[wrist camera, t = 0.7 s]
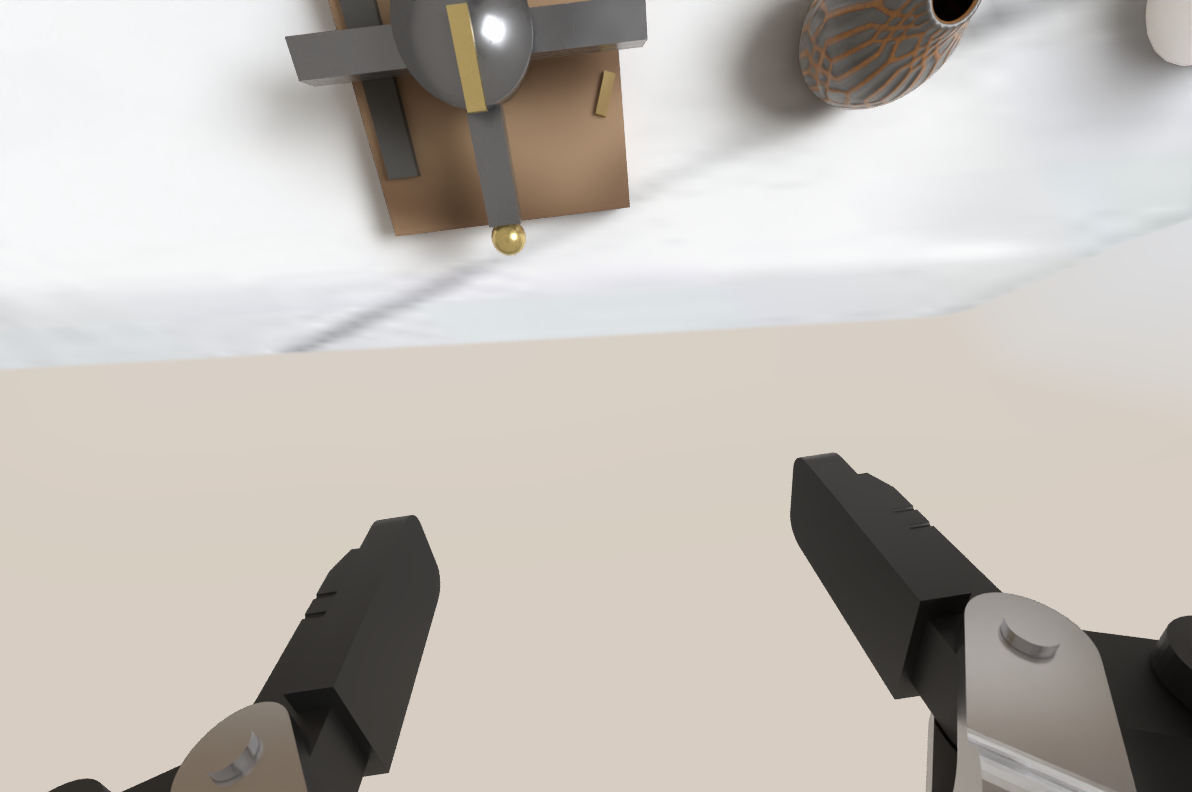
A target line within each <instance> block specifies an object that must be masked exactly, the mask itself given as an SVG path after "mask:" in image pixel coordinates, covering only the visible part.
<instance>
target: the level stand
mask: <svg viewBox="0 0 1192 792" xmlns="http://www.w3.org/2000/svg"><path fill="white" fill-rule="evenodd" d="M328 1H329V4H330V8H331V11H332V15H333V18H334V22H335V25H336V29H337V30H346V29H354V28H362V27H371V26H379V25H388V24H391V20H390V0H328ZM581 1H589V0H527V2H528V6H529V8H531V7H539V6H547V5H556V4H564V3H573V2H581ZM352 84H353V88H354V91H355V95H356V98H357V102H358V105H359V109H360V112H361V116H362V119H363V123H364V126H365V130H366V133H367V137H368V140H369V144H370V147H371V151H372V154H373V158H374V161H375V165H376V168H377V172H378V175H379V179H380V182H381V186H382V189H383V193H384V196H385V200H386V203H387V207H388V210H389V214H390V217H391V221H392V224H393V228H394V231H395V235H396V236H402V235H410V234H418V233H426V232H434V231H442V230H450V229H458V228H466V227H474V226H482V225H489V224H488V219H487V214H486V209H485V204H484V199H483V194H482V189H481V184H480V179H479V174H478V169H477V164H476V159H475V154H474V149H473V144H472V139H471V134H470V129H469V124H468V119H467V114H466V110H464V109H461V108H457V107H454V106H452V105H449V104H447V103H445V102H443V101H442V100H440V99H438V98H437V97H435V96H433V95H432V94H431V93H429V92H428V91H427V90H426V89H425V88H423V87H422V86H421V85H420V84H419V83H418V82H417V80H416V79H415V78H414V77H413V76H412V75H404V76H396V77H388V78H379V79H371V80H363V81H354V82H352ZM503 109H504V115H505V121H506V127H507V133H508V139H509V145H510V151H511V156H512V162H513V168H514V174H515V180H516V186H517V192H518V198H519V204H520V210H521V215H522V221H523V220H531V219H539V218H547V217H555V216H563V215H571V214H579V213H587V212H595V211H603V210H611V209H619V208H627V207H630V203H629V189H628V175H627V161H626V148H625V134H624V120H623V107H622V93H621V79H620V66H619V52H618V50H612V51H604V52H595V53H587V54H579V55H571V56H562V57H554V58H546V59H537V60H531V61H530V65H529V68H528V71H527V73H526V76H525V78H524V80H523V83H522V85H521V87H520V89H519V91H518V92H517V93H516V95H515V96H514V97H513V98H512V99H511V100H509V101H508V102H506V103H505V104H503Z"/></svg>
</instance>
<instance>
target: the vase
mask: <svg viewBox="0 0 1192 792" xmlns="http://www.w3.org/2000/svg"><path fill="white" fill-rule="evenodd" d="M980 2H981V0H814V1H813V3H812V4H811V7H810V9H809V11H808V13H807V16H806V18H805V21H804V24H803V28H802V31H801V37H800V44H799V61H800V67H801V71H802V74H803V77H804V79H805V81H806V83H807V85H808V87H809V88H810V89H811V91H812V92H813V93H814V94H815V95H816V96H817V97H818V98H819V99H821V100H822V101H824V102H826V103H827V104H829V105H832V106H835V107H838V108H842V109H849V110H857V109H868V108H873V107H878V106H881V105H885V104H888V103H890V102H893V101H895V100H897V99H899V98H901V97H903V96H905V95H906V94H908V93H910V92H911V91H913V90H914V89H916V88H917V87H919V86H920V85H921V84H923V83H924V82H925V81H926V80H928V79H929V78H930V77H931V76H932V75H933V74H934V73H935V72H936V71H937V70H938V69H939V68H940V67H941V66H942V65H943V64H944V63H945V62H946V61H947V59H948V58H949V57H950V56H951V54H952V53H953V51H954V50H955V48H956V47H957V45H958V44H959V42H960V40H961V38H962V36H963V34H964V32H965V30H966V28H967V26H968V23H969V20H970V18H971V17H972V15H973V14H974V13H975V11H976V10H977V8H978V6H979V4H980Z"/></svg>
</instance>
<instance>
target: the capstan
mask: <svg viewBox="0 0 1192 792" xmlns="http://www.w3.org/2000/svg"><path fill="white" fill-rule="evenodd" d="M390 20H391V24H388V25H379V26H371V27H362V28H354V29H346V30H337V31H329V32H320V33H312V34H304V35H295V36H287V37H285V39H286V42H287V45H288V48H289V51H290V54H291V57H292V60H293V63H294V67H295V70H296V73H297V76H298V79H299V81H300V82H303V83H306V84H309V85H312V86H321V85H329V84H338V83H346V82H354V81H363V80H371V79H379V78H388V77H396V76H404V75H412V76H413V77H414V78H415V79H416V80H417V82H418V83H419V84H420V85H421V86H422V87H423V88H425V89H426V90H427V91H428V92H429V93H431V94H432V95H433V96H435V97H437V98H438V99H440V100H442V101H443V102H445V103H447V104H449V105H452V106H454V107H457V108H461V109H464V110H466V114H467V119H468V124H469V129H470V134H471V139H472V144H473V149H474V154H475V159H476V164H477V169H478V174H479V179H480V184H481V189H482V194H483V199H484V204H485V209H486V214H487V219H488V224H489V227H494V229H493V231H492V243H493V245H494V247H495V248H496V249H497V250H498V251H499V252H500V253H502V254H504V255H509V256H511V255H515V254H518V253H519V252H520V251H521V250H522V249H523V248H524V246H525V243H526V235H525V232H524V229H523V228H522V227H521V225H520V223H521V222H522V215H521V210H520V204H519V198H518V192H517V186H516V180H515V174H514V168H513V162H512V156H511V151H510V145H509V139H508V133H507V127H506V121H505V115H504V109H503V104H505V103H506V102H508V101H509V100H511V99H512V98H513V97H514V96H515V95H516V93H517V92H518V91H519V89H520V87H521V85H522V83H523V80H524V78H525V76H526V73H527V71H528V68H529V65H530V61H531V60H537V59H546V58H554V57H562V56H571V55H579V54H587V53H595V52H604V51H612V50H620V49H629V48H637V47H643V45H644V44H645V42H646V41H647V22H646V2H645V0H589V1H581V2H573V3H564V4H556V5H547V6H539V7H531V8H529V6H528V2H527V0H390Z"/></svg>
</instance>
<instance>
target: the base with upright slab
mask: <svg viewBox="0 0 1192 792" xmlns="http://www.w3.org/2000/svg"><path fill="white" fill-rule="evenodd" d="M1145 15H1146V26H1147V35H1148V37H1149V40H1150V42H1151V44H1152V47H1153V49H1154V51H1155V52H1156V53H1157V54H1158V55H1160V56H1161V57H1162V58H1163V59H1164V60H1165V61H1166V62H1170V63H1173V64H1176V65H1179V66H1191V65H1192V0H1147V6H1146V12H1145Z"/></svg>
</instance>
